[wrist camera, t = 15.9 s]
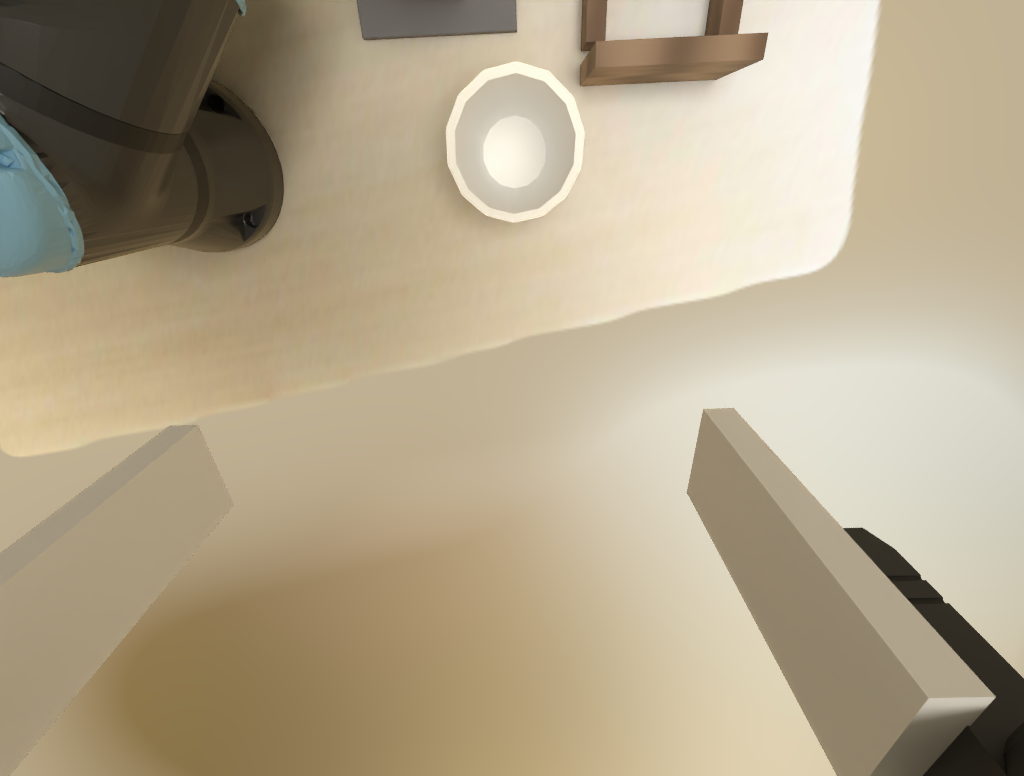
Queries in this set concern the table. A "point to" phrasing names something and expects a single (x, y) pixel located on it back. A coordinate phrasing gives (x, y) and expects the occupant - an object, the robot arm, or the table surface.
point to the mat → (435, 18)
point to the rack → (668, 50)
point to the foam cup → (515, 142)
